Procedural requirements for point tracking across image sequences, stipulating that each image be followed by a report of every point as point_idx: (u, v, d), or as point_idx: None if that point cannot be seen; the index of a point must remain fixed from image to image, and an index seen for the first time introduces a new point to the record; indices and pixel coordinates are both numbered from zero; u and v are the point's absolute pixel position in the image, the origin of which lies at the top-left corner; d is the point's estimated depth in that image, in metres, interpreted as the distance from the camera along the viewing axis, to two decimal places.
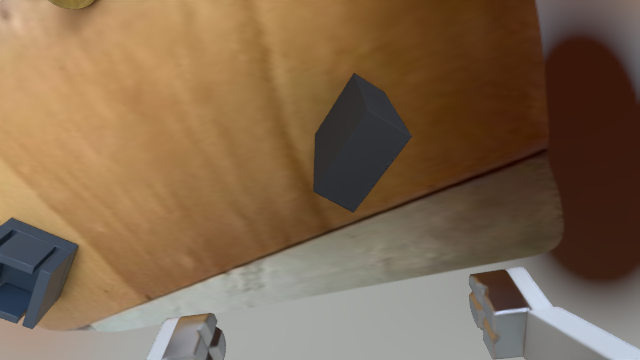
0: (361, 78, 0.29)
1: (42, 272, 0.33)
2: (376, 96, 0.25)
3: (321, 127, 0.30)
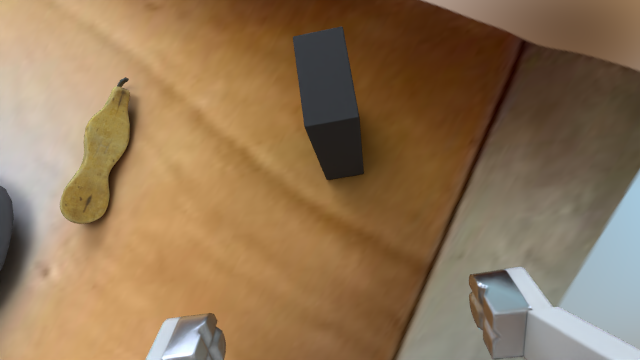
0: None
1: None
2: None
3: None
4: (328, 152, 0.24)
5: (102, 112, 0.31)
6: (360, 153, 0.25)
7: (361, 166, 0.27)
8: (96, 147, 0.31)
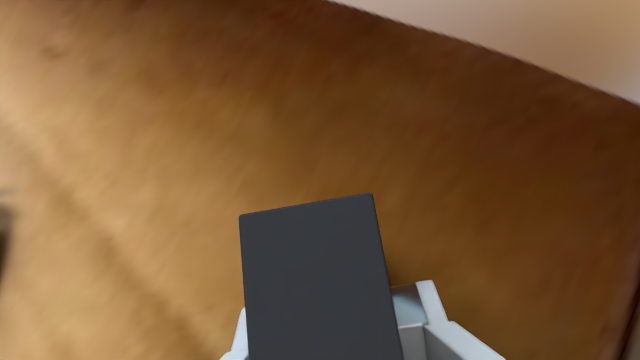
0: None
1: None
2: None
3: None
4: None
5: None
6: None
7: None
8: None
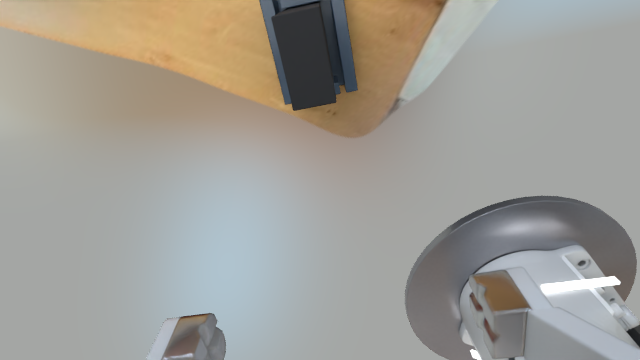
0: None
1: None
2: (299, 7, 0.27)
3: None
4: None
5: None
6: None
7: None
8: None
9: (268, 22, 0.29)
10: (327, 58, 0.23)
